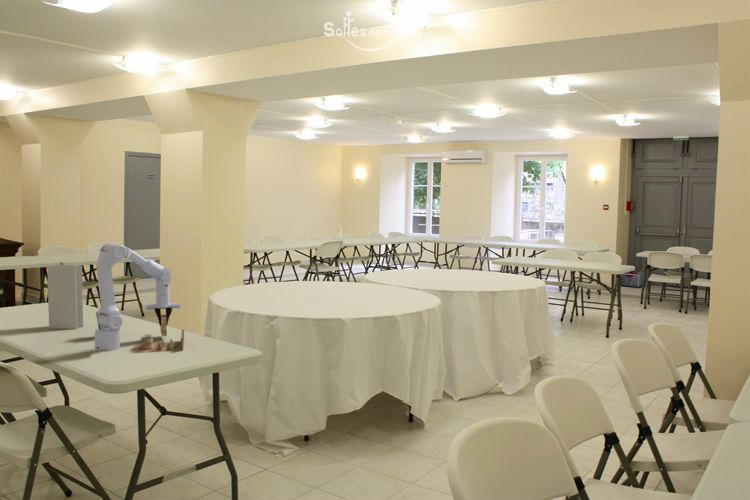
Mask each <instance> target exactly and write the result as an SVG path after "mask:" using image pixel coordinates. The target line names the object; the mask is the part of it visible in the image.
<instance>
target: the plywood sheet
mask: <svg viewBox="0 0 750 500" xmlns="http://www.w3.org/2000/svg"><path fill="white" fill-rule="evenodd" d="M167 327H168V325H167V318H166V313H161V326H160V334H161V335H160V336H168V334H167V332H168V330H167Z"/></svg>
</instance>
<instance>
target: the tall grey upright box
mask: <svg viewBox="0 0 750 500" xmlns="http://www.w3.org/2000/svg"><path fill="white" fill-rule="evenodd" d="M46 269H47V298H48V299H47V301H48V303H47V304H48V327H49V329H62V330H63V329H65V330H66V329H67V330H69V329H70V330H78V328H84V301H83V299H84V298H83V295H84V294H83V293H84V292H83V265H74V264H73V265H71V264H70V265H69V264H53V265H47V267H46Z"/></svg>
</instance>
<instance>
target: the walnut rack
mask: <svg viewBox="0 0 750 500" xmlns="http://www.w3.org/2000/svg"><path fill="white" fill-rule="evenodd" d="M184 345H185V329H181V334H180V340H179V341H178V340H177V341H176V340H175V341H174V340H173V338H170V339H169V341H165V339H164V338H163V339H161V341H156V342H155V341H153V346H152V349H142V350H141V342H135V343H134V345H133V347H132V350H130V351H131V352H130V354H142V353H145V354H146V353H162V352H163V353H165V352H183V351H184V347H185V346H184Z"/></svg>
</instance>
